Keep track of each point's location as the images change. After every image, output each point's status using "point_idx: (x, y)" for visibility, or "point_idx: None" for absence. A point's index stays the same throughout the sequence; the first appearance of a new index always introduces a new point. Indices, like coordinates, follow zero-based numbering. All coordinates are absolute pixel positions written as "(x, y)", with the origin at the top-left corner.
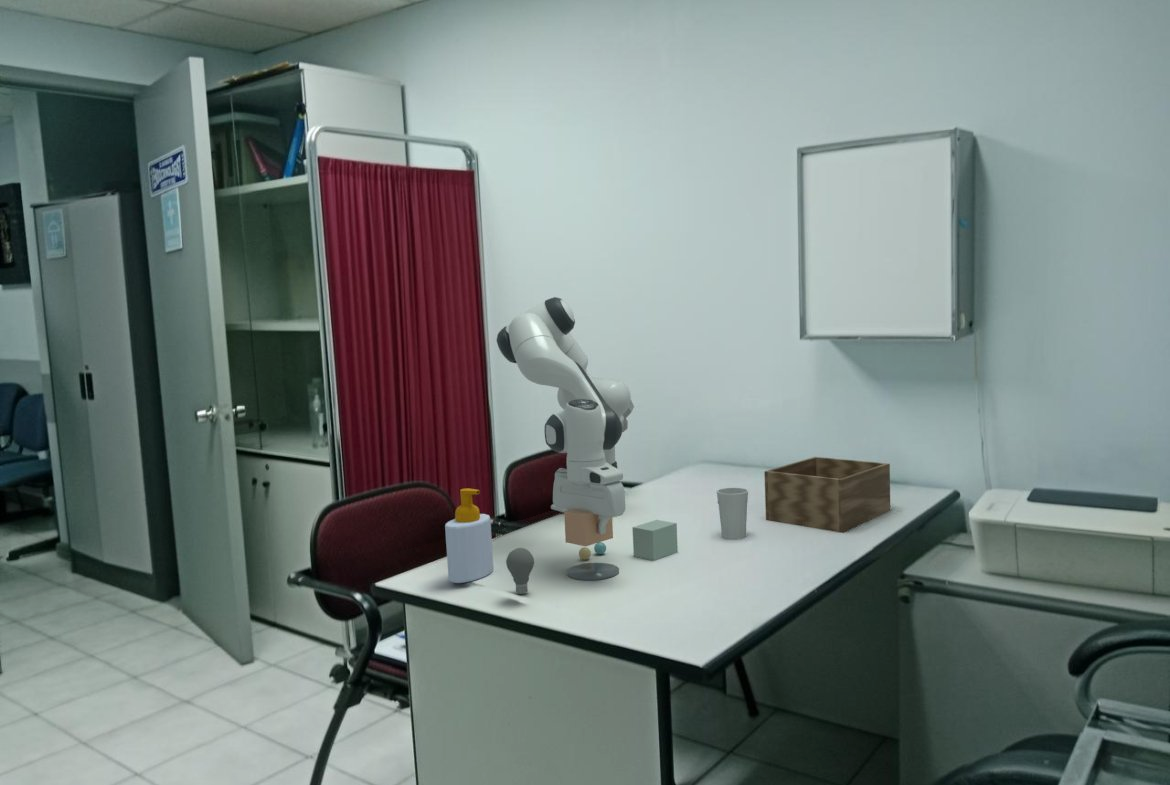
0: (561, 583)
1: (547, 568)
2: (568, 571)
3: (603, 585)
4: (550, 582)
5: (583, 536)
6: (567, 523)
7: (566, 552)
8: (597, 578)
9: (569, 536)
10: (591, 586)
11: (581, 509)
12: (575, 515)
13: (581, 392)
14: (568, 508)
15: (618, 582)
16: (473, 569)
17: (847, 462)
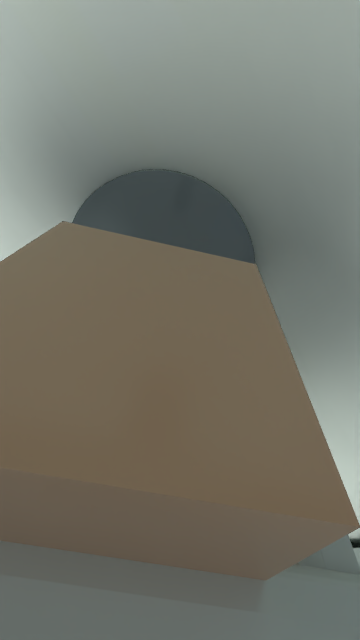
0: (199, 77)
1: (353, 256)
2: (237, 227)
3: (20, 146)
4: (261, 63)
5: (46, 250)
6: (248, 350)
7: (339, 400)
8: (85, 201)
9: (218, 275)
10: (48, 105)
11: (92, 575)
12: (57, 428)
13: None
14: (340, 588)
15: (8, 209)
16: None
17: None
